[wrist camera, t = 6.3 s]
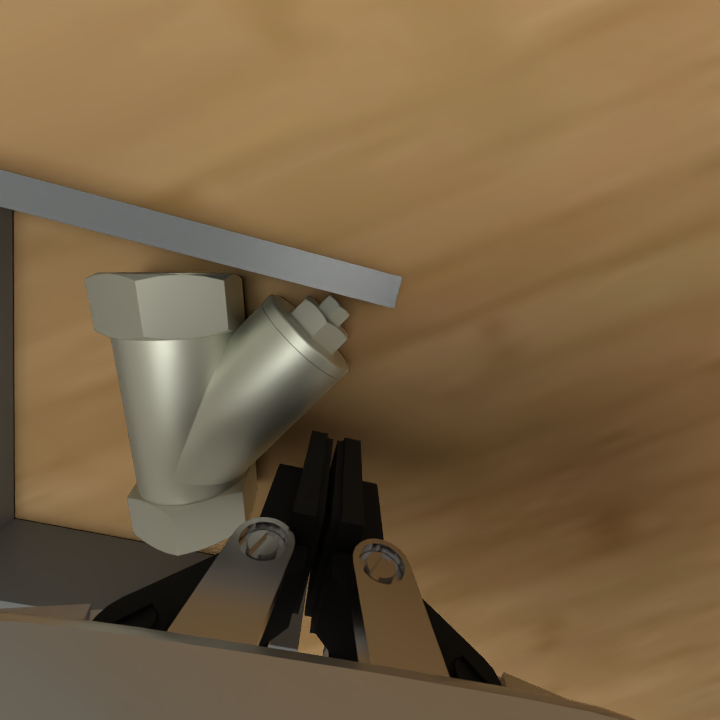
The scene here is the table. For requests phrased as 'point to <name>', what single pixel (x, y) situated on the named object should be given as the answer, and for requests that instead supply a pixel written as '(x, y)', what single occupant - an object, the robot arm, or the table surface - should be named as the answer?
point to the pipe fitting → (208, 392)
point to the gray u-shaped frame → (4, 533)
